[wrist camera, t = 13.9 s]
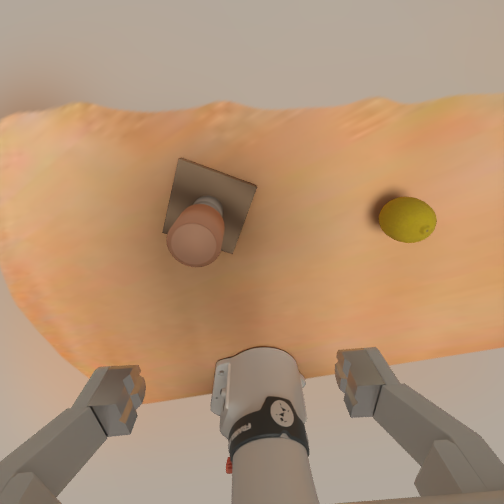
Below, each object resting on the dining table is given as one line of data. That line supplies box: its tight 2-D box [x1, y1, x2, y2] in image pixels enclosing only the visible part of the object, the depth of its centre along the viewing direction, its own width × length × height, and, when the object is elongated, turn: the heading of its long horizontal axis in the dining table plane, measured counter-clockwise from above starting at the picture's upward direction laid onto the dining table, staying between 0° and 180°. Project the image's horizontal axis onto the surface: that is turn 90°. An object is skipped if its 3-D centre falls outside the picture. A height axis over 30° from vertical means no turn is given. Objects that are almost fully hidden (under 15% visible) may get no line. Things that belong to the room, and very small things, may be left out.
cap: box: [167, 204, 225, 267], centre depth 24 cm, size 5×5×5 cm
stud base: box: [162, 158, 257, 254], centre depth 29 cm, size 10×10×8 cm
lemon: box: [379, 197, 437, 243], centre depth 30 cm, size 6×6×8 cm
